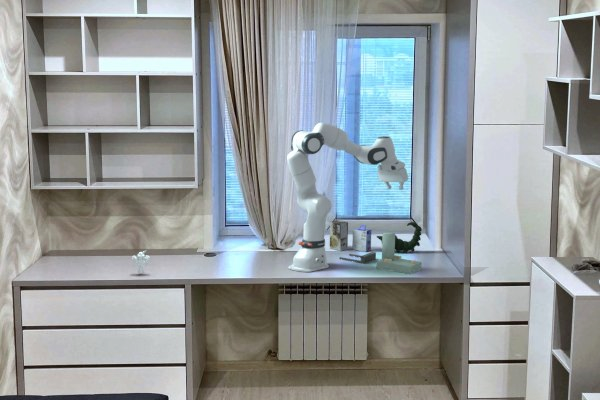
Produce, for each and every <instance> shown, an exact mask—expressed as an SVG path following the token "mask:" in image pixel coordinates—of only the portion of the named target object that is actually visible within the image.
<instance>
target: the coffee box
mask: <svg viewBox="0 0 600 400" xmlns="http://www.w3.org/2000/svg"><path fill="white" fill-rule="evenodd" d="M348 238H349V222H348V221H344V220H338V219H337V220H331V221H329V249H330V250H335V251H340V252H342V251H347V250H348V245H349V244H348V243H349V242H348Z"/></svg>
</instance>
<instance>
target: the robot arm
mask: <svg viewBox="0 0 600 400" xmlns="http://www.w3.org/2000/svg"><path fill="white" fill-rule="evenodd" d="M323 146H326V147H329V148H331V149H334V150H336V151H343V152H346V153H347V154H349V155H351V156H352V157H354V158H355V160H356V161H357V162H358V163H360V164H363V165H364V164H365V165H372V166H377V165H378V166H377V176H378V177H377V178H378V180H379V182H384V184H385V186H386V188H387V190H391V189H392V185H391V184H390V183H399V186H398V189H399V191H402V190H404V183H405V182H407V181H408V180H409V175H408V171H407V169H406V163H405V162H403V161H401V160H399V159H398V158H397V155H396V150H395V149H396V148H395V144H394V142H393V140H392V138H391V137H390V136H378V137H377V138H376V140H375V141H374V142H373V143H372V145H370V146H369V145H366V144H357V143H354V142H353V141H352V140H349V135H348V133H347V132H346V131H345V130H343V129H341V128H340V127H337V126H335V125H332V124H330V123H326V122H318V123H317V124H316V125H315V126H314V127H313V130H312V131H308V130H303V129H302V130H297V131H296V132H294V133H293V134H292V136H291V146H290V149H291V151H290V152H289V153H288V154H287V157H286V161H287V167H288V170H289V172H290V175H291V178H292V180H293V182H294V185H295V187H296V188H295V189H296V192H297V199H296V200H297V201H296V202H297V203H296V204H297V205H298V206H299V208H300V209H302V211H305V212H307V218H306V220H305V222H304V223H303V230H302V231H303V235H302V236H303V238H302V240H299V241H298V243H297V244H298V246H301V247H300V248H299V249H298V250H297V252H296V254H295V255H294V256H293V259H292V264H291V265H290V264H289V265H288V268H287V269H289V270H292V271H296V272H304V273H311V272H314V271H320V270H324V269H328V268H329V264H328V259H327V257H328V256H327V251H326V248H325V246H326V240H325V225H326V220H327V217H328V214H329V213H330V212H331V210H332V202H331V200H330V199H329V198H328V197H327V196H325V195H324V194H321V193H319V192H318V191H317V188H316V187H317V186H316V183H317V179H316V176H315V174H314V171H313V168H312V165H311V163H310V160H309V155H315V154H318V152H320V150H321V149H322V147H323Z"/></svg>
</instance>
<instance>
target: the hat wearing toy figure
mask: <svg viewBox="0 0 600 400" xmlns="http://www.w3.org/2000/svg"><path fill="white" fill-rule="evenodd" d="M146 252H147V249H146V250H142V251H140V252H138V253H137V255H132V257H131V261H134V262H133V264H132V267H133V268H134V267H135V266H136V264H137V273H136V274H137V275H141V274H142V275H145V274H146V270H145V267H146V268H149V266H150V264H149V262H148V261H150V256H149V255H145V253H146Z"/></svg>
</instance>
